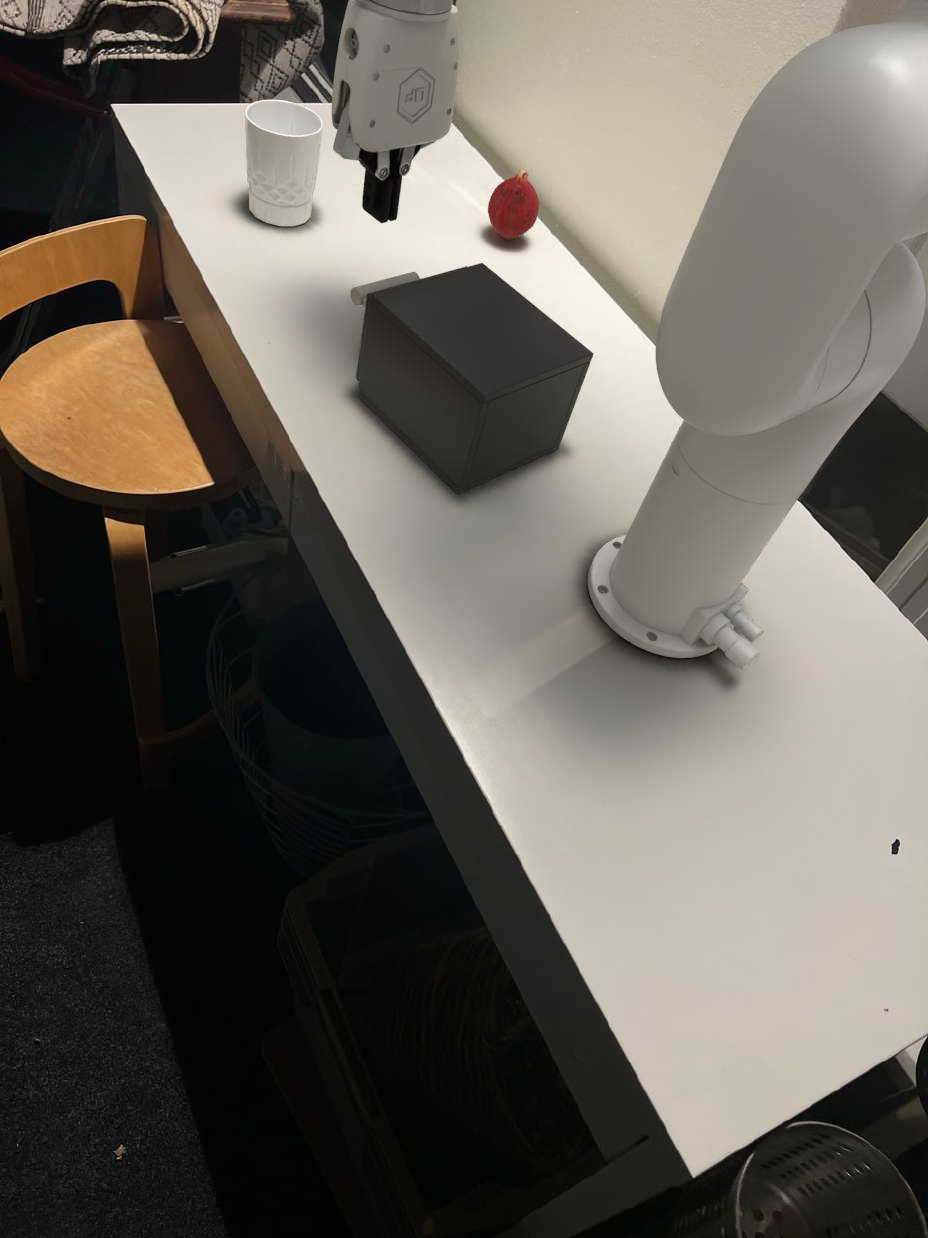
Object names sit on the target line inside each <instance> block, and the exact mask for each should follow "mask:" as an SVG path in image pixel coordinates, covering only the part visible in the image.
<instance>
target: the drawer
mask: <svg viewBox="0 0 928 1238" xmlns="http://www.w3.org/2000/svg"><path fill="white" fill-rule="evenodd" d="M465 267H468V266H467V265H465V266H463V267H458V268H455V269H452V270H448V271H443V272H441V273H436V274H433V275H430V276H426V277H423V278H421V277H420V275H419V274H418V272H416V271H411V272H405V273H403V274H399V275H396V276H392V277H388V278H385V279H380V280H377V281H374V282H370V283H366V284H362V285H358V286H356V287H352V288H351V289H350V292H349V295H350V300H351V302H352V303H353V305H354V306H355V307H359V306H364V314H363V322H362V329H361V336H360V342H359V343H360V344H359V351H358V359H357V366H356V374H355V379H356V380H357V381H358V382H359V378H360V371H361V363H362V356H363V349H364V342H365V334H366V327H367V320H368V313H369V305H370V299H371V294H372V293H375V292H379V291H382V290H386V289H389V288H393V287H397V286H400V285H404V284H408V283H411V282H415V281H418V280H422V279H426V278H429V277H433V276H436V275H440V274H444V273H447V272H451V271H454V270H458V269H462V268H465Z"/></svg>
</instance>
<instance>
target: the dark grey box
mask: <svg viewBox="0 0 928 1238" xmlns="http://www.w3.org/2000/svg"><path fill="white" fill-rule="evenodd" d="M464 267H465V268H462V267H461V268H462V269H458V268H457V269H458V270H455V269H453V270H454V271H451V270H450V271H451V272H448V271H446V272H447V273H444V272H443V273H444V274H440V273H439V274H440V275H437V274H435V275H436V276H433V275H432V276H433V277H429V276H428V277H429V278H426V277H425V278H426V279H422V278H421V279H422V280H418V281H415V282H411V283H408V284H404V285H400V286H397V287H393V288H389V289H386V290H382V291H379V292H375V293H372V294H371V299H370V305H369V313H368V320H367V327H366V334H365V342H364V349H363V356H362V363H361V371H360V378H359V381H358V386H357V395H356V396H357V397H358V399H360V400H361V401H362V402H363V403H364V405H366V406H367V407H368V408H369V409H370V410H371V411H372V412H373V413H374V414H375V415H376V416H377V417H378V418H379V419H380V420H381V421H382V422H383V423H384V424H385V425H386V426H387V427H388V428H389V429H390V430H392V432H394V433H395V434H396V435H397V436H398V437H399V438H400V440H402V441H403V443H405V444H406V445H407V446H408V447H409V448H410V449H411V450H412V451H413V452H414V453H415V454H416V455H417V456H418V457H419V458H420V459H421V460H422V461H423V462H424V463H425V464H426V465H427V466H428V467H429V468H430V469H431V470H432V471H433V472H434V473H435V474H436V475H437V476H439V478H441V479H442V480H443V482H444V483H446V485H448V487H449V488H451V489H452V490H453V492H455V493H456V494H457V495H459V494H462V493H463V492H466V491H468V490H471V489H473V488H475V487H478V486H479V485H482V484H484V483H486V482H488V481H490V480H493V479H495V478H497V477H500V476H501V475H504V474H506V473H508V472H510V471H513V470H515V469H517V468H520V467H521V466H523V465H526V464H529V463H531V462H533V461H535V460H537V459H539V458H541V457H544V456H545V455H548V454H550V453H552V452H554V451H557V450H559V449H560V446H561V443H562V441H563V438H564V436H565V432H566V430H567V427H568V425H569V422H570V419H571V417H572V413H573V411H574V408H575V405H576V402H577V400H578V398H579V396H580V392H581V390H582V387H583V385H584V381H585V379H586V376H587V373H588V371H589V368H590V365H591V362H592V360H593V357H594V352H593V351H591V350H590V349H589V348H587V347H586V346H585V345H584V344H583V343H582V342H580V341H579V340H578V339H577V338H576V337H574V336H573V335H572V334H571V333H569V332H568V331H567V330H566V329H565V328H563V327H562V326H561V325H559V324H558V323H557V322H556V321H554V320H553V319H552V318H551V317H550V316H548V314H546V313H545V312H544V311H542V310H541V309H540V308H538V307H537V306H536V305H535V304H534V303H533V302H531V301H530V300H529V299H527V298H526V296H524V295H522V293H520V292H519V291H518V290H516V289H515V288H514V287H513V286H512V285H510V284H509V283H508V282H507V281H505V280H504V279H503V278H502V277H500V275H498V274H497V273H495V271H493V270H492V269H491V268H489V267H488V266H487V265H486V264H485V263H483V262H480V263H476V264H472V265H469V266H467V267H466V266H464Z"/></svg>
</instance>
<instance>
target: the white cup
mask: <svg viewBox="0 0 928 1238" xmlns="http://www.w3.org/2000/svg"><path fill="white" fill-rule="evenodd" d="M244 129H245V130H244V131H245V159H246V160H245V161H246V176H247V177H246V181H247V185H248V188H247V189H248V209H249V211H250V212H251V214H253V216H254V217H255V218H256V219H258V220H260V221H262V222H264V223H266V224H270V225H273V226H278V227H296V226H300V225H303V224H305V223H306V222H308V220H310V219H311V216H312V209H313V200H314V193H315V191H316V184H317V179H318V171H319V163H320V157H321V155H320V154H321V147H322V140H323V132H324V121H323V119H322V117H321V116H320V115H319V114H318V113H317V112H315V111H314V110H312V108H309V107H306V106H305V105H302V104H300V103H297V102H293V101H288V100H282V99H262V100H261V99H260V100H256V101H254V102H252V103H251V102H250V103H249V104H248V105H247V106H246V107H245V109H244Z"/></svg>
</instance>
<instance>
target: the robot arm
mask: <svg viewBox="0 0 928 1238" xmlns="http://www.w3.org/2000/svg"><path fill="white" fill-rule="evenodd" d="M453 2H454V0H348V1H347V5H346V9H345V12H344V13H345V14H344V17H343V22H342V26H341V31H340V35H339V41H338V47H337V53H336V58H335V67H334V74H333V84H332V94H331V124H332V127H333V128H334V129H335V130H336V134H335V137H334V142H333V144H332V145H333V146H332V151H333V152H334V153H336V155H338V156H339V157H341V158H342V159H344V160H351V161H358V162H359V165H360V166H361V167H363V169H364V178H363V189H362V191H363V192H362V198H361V199H362V202H361V206H362V209H363V211H365V212H366V213H367V214H368V215H369V216H370V217H372V218H373V219H375V220H376V221H377V222H379V224H384V223H388V222H394V221H396V220H397V219H398V213H399V207H400V198H401V191H402V190H401V189H402V182H403V177H405V176H407V175H408V174H409V173H410V170H411V166H412V161H413V160H414V159H415V157H416V156H417V155H418V154H419V152H420V151H421V150H423V149H424V148H427V147H429V146H430V145H433V144H435V143H436V142H437V141H439V140H441V139H443V138H444V137H445V136H447V135H448V133H449V132H450V129H451V126H452V121H453V117H454V116H453V115H454V108H455V103H456V94H457V93H456V92H457V85H458V76H459V75H458V74H459V63H460V62H459V60H460V59H459V58H460V18H459V9H458V7H457V6H456V5H454V4H453ZM926 233H928V0H902V1H901V3H900V4H899V5H898V7H897V8H896V10H895V11H894V13H893V14H892V16H891V17H890V18H889V19H888V20H887V21H886V22H881V23H873V24H872V23H871V24H865V25H860V26H855V27H849V28H846V29H842V30H839V31H837V32H835V33H832V34H829V35H827V36H825V37H823V38H820V39H818V40H816V41H815V42H812V43H811V44H809V45H808V46H806V47H805V48H803V49H801V51H799V52H798V53H797V54H795V55H794V56H792V58H790V59H789V60H788V61H787V62H786V63H785V64H784V65H783V66H781V68H780V69H779V70H777V72H776V73H774V75H773V76H772V77H771V78H770V79H769V81H768V82H767V83H766V84H765V86H764V87H763V88H762V90H761V91H760V92H759V93H758V95H757V96H756V98H755V99H754V101H753V102H752V103H751V105H750V107H749V108H748V110H747V111H746V113H745V114H744V117H743V118H742V120H741V122H740V124H739V126H738V128H737V130H736V132H735V134H734V136H733V139H732V141H731V143H730V145H729V148H728V149H727V152H726V154H725V156H724V158H723V161H722V163H721V165H720V168H719V170H718V173H717V175H716V178H715V180H714V182H713V185H712V187H711V190H710V192H709V194H708V196H707V199H706V201H705V203H704V206H703V208H702V211H701V213H700V215H699V217H698V219H697V222H696V225H695V227H694V229H693V232H692V234H691V235H690V239H689V241H688V243H687V245H686V248H685V250H684V253H683V255H682V258H681V261H680V262H679V265H678V267H677V270H676V272H675V274H674V277H673V279H672V281H671V283H670V287H669V289H668V291H667V294H666V297H665V300H664V303H663V306H662V308H661V312H660V317H659V320H658V325H657V328H656V337H655V365H656V371H657V372H656V373H657V377H658V380H659V383H660V387H661V389H662V392H663V394H664V396H665V398H666V400H667V402H668V404H669V406H671V408H672V409H673V410H674V412H675V413H676V414H677V415H678V416H679V417H680V419H682V420H683V421H682V422H681V424H680V426H679V428H678V429H677V432H676V433H675V435H674V437H673V439H672V441H671V444H670V446H669V448H668V450H667V451H666V454H665V455H664V458H663V460H662V461H661V464H660V466H659V468H658V470H657V472H656V474H655V476H654V478H653V479H652V482H651V484H650V486H649V488H648V490H647V492H646V494H645V496H644V498H643V500H642V502H641V504H640V506H639V508H638V511H637V512H636V514H635V516H634V518H633V520H632V522H631V525H630V526H629V528H628V531H627V532H626V534H622V535H620V536H617V537H615V538H612V539H611V540H609V541H607V542H606V543H604V544H603V545H602V546H601V547H600V549H598V551H597V552H596V553H595V556H594V558H593V559H592V562H591V564H590V567H589V569H588V573H587V588H588V592H589V593H588V594H589V596H590V599H591V602H592V604H593V607H594V608H595V610H596V611H597V613H598V614H599V616H600V618H601V619H602V620H603V621H604V623H606V625H608V627H609V628H610V629H612V631H614V632H615V633H616V634H617V635H619V636H620V637H621V638H622V639H624V640H626V641H627V642H629V643H630V644H631V645H633V646H635V647H637V648H640V649H643V650H644V651H646V652H650V653H652V654H655V655H658V656H662V657H669V658H675V659H686V658H687V659H690V658H691V659H692V658H697V657H701V656H705V655H707V654H709V653H711V652H714V651H716V650H717V649H720V650H721V651H722V652H723V653H724V656H725V657H726V658H727V659H728V660H730V661H731V662H732V663H733V664H734V665H735V666H736V667H737V668H738V669H739V670H741V671H745V670H746V669H747V668H749V666H751V665H752V664H753V663H754V662H755V661H756V660H757V658H758V657H759V655H760V654H761V651H759V650H758V649H757V648H756V647H755V646H754V645H753V644H754V643H756V641H757V640H759V639H760V637H761V636H763V634H764V633H765V630H764V629H763V628H762V627H761V626H759V625H758V623H756V622H755V621H754V620H753V619H750V618H749V617H748V616H747V615H746V614H745V613H744V612H743V611H744V607H743V606H742V605H740V604H741V603H742V601H743V600H744V599H745V597H746V595H747V594H748V592H749V591H750V589H749V588H748V587H747V586H746V584H744V583H742V582H743V581H744V580H745V579H746V576H747V575H748V573H749V572H750V570H751V569H752V568H753V566H754V565H755V564H756V561H757V560H758V558H760V556H761V554H762V553H763V552H764V550H765V549H766V547H767V546H768V544H769V542H770V541H771V540H772V538H773V537H774V535H775V533H776V532H777V530H778V529H779V528H780V526H781V525H782V523H783V522H784V520H785V519H786V517H787V516H788V514H789V513H790V511H791V510H792V508H793V507H794V505H795V504H796V503H797V501H798V499H799V498H800V496H801V495H802V494H803V493H804V491H805V490H806V489H807V487H808V486H809V484H810V483H811V482H812V480H813V478H814V477H815V476H816V474H817V473H818V471H819V469H820V468H821V467H822V465H823V464H824V463H825V461H826V459H827V458H828V456H830V454H831V452H832V451H833V450H834V448H835V447H836V446H837V444H838V443H839V442H840V440H841V439H842V438H843V436H844V435H845V434H846V432H848V430H849V429H850V428H851V426H852V425H853V424H854V423H855V422H856V420H857V419H858V418H859V417H860V416H861V414H862V413H863V412H864V411H865V410H866V408H868V406H869V405H870V404H871V403H872V402H873V401H874V399H875V398H876V397H877V395H878V394H879V393H880V392H881V391H882V390H883V388H885V386H886V385H887V384H888V383H889V381H890V380H891V379H892V378H893V376H894V375H895V373H896V372H897V371H898V370H899V368H900V367H901V365H902V364H903V362H904V361H905V360H906V357H907V356H908V355H909V353H910V352H911V349H912V347H913V345H914V343H915V342H916V340H917V337H918V335H919V332H920V330H921V327H922V323H923V320H924V316H925V308H926V287H925V279H924V275H923V272H922V269H921V267H920V265H919V262H918V260H917V259H916V257H915V255H913V253H912V251H911V250H910V249H909V248H908V247H907V246H906V244H904V243H903V241H906V240H909V239H912V238H915V237H918V236H921V235H923V234H926ZM734 628H735V629H737V631H738V632H739V633H740V634H741V635H742V636H741V635H739V633H737V632H736V631H735V630H734Z"/></svg>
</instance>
